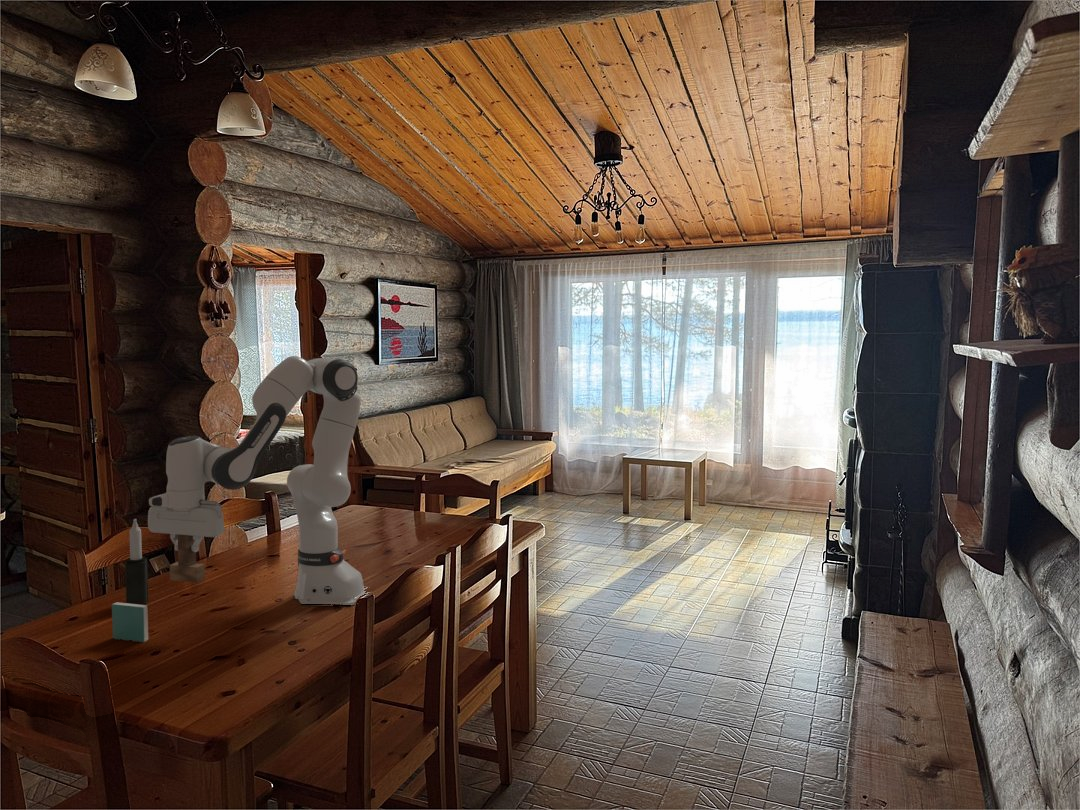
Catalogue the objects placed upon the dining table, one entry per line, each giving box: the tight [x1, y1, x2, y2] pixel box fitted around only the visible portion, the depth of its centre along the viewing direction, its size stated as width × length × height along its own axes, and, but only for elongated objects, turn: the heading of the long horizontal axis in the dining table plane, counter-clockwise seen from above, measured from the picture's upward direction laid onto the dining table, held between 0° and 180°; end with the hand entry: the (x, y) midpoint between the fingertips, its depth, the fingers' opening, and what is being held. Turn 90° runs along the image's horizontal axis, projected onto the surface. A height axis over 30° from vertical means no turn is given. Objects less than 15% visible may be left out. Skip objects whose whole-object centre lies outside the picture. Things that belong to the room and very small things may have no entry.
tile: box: [111, 602, 149, 643], centre depth 181 cm, size 9×2×9 cm, turn 79°
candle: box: [124, 518, 149, 605], centre depth 204 cm, size 5×5×25 cm
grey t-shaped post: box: [169, 534, 206, 583], centre depth 186 cm, size 8×3×14 cm, turn 79°
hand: (186, 550), depth 186 cm, fingers closed on grey t-shaped post, 3 cm apart
